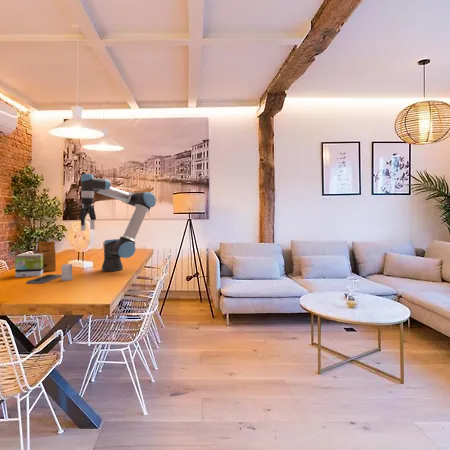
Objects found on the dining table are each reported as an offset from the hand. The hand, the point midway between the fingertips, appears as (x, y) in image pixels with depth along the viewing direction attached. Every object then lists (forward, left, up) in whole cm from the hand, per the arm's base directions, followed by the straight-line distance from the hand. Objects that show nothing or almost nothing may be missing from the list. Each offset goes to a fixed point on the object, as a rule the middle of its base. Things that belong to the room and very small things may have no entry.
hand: (88, 230), depth 210 cm
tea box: (-6, -43, -32) cm, 54 cm away
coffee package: (-24, -42, -32) cm, 58 cm away
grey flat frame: (+8, -24, -32) cm, 41 cm away
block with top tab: (+8, -10, -32) cm, 34 cm away
